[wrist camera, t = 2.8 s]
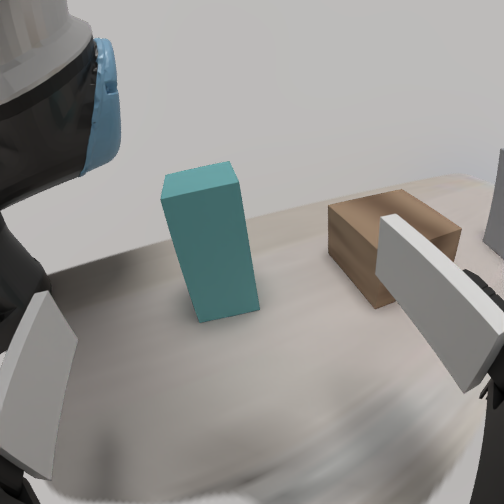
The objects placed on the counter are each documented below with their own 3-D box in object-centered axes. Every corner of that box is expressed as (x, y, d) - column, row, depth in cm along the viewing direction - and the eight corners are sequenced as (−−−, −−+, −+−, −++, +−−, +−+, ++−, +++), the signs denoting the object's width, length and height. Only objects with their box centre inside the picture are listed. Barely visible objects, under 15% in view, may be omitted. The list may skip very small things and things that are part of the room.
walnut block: (374, 311, 21) (383, 255, 19) (328, 254, 28) (328, 205, 25) (448, 279, 23) (461, 228, 20) (396, 234, 29) (401, 189, 26)
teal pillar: (199, 322, 23) (160, 199, 17) (196, 285, 27) (165, 175, 21) (259, 309, 23) (239, 182, 18) (248, 273, 27) (229, 161, 21)
